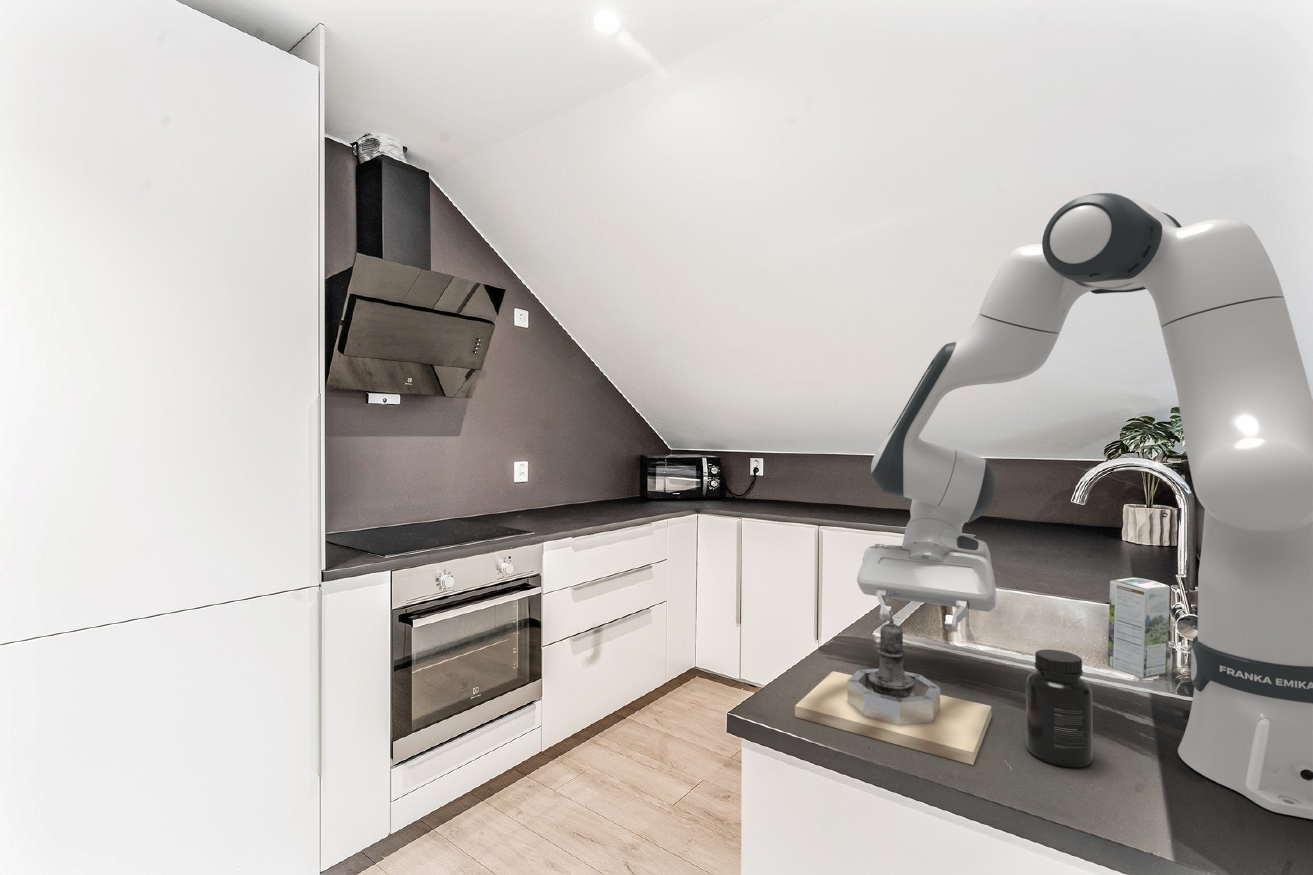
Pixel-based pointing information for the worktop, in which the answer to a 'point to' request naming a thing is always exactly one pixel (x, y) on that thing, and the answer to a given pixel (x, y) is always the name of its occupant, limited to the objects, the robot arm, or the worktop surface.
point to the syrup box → (1138, 627)
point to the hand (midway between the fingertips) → (916, 624)
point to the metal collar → (895, 700)
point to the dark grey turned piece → (891, 664)
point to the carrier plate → (946, 737)
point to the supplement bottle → (1059, 710)
